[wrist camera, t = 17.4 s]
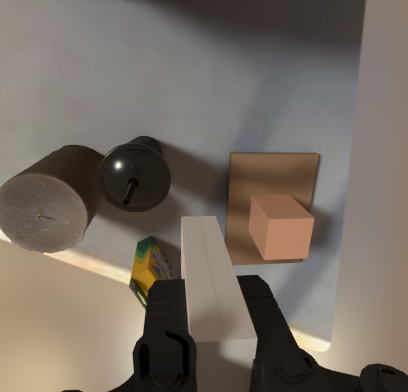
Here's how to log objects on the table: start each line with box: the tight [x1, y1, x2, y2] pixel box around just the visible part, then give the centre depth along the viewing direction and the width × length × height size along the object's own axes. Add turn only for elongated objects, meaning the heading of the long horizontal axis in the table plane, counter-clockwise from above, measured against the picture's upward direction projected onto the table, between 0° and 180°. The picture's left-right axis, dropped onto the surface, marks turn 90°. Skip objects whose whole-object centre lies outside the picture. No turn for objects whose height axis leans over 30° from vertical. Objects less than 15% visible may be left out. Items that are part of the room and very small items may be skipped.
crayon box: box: [129, 236, 172, 310], centre depth 45 cm, size 7×3×12 cm, turn 24°
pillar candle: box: [0, 145, 105, 253], centre depth 37 cm, size 10×10×15 cm
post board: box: [225, 152, 319, 265], centre depth 46 cm, size 20×14×8 cm
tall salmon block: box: [248, 195, 315, 260], centre depth 44 cm, size 6×6×9 cm
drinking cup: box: [98, 136, 171, 212], centre depth 34 cm, size 8×8×20 cm
